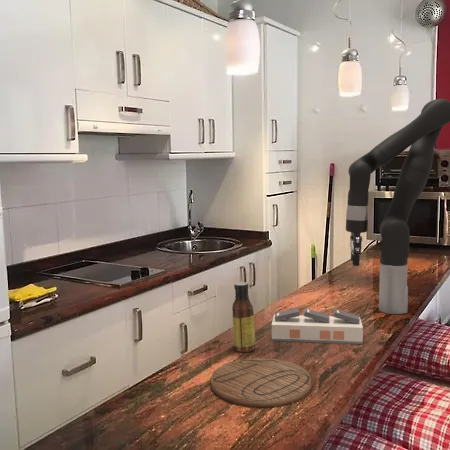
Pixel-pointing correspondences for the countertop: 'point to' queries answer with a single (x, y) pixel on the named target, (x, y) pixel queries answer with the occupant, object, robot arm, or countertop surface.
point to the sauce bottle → (243, 319)
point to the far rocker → (287, 314)
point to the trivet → (261, 382)
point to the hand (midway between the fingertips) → (354, 263)
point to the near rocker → (346, 316)
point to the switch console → (317, 330)
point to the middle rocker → (316, 315)
